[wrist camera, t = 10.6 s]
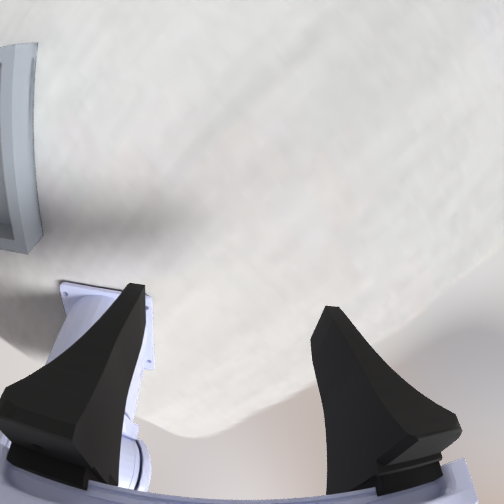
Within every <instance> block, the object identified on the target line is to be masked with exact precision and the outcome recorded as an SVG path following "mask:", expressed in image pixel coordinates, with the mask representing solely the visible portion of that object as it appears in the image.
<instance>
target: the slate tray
mask: <svg viewBox="0 0 504 504" xmlns="http://www.w3.org/2000/svg"><path fill="white" fill-rule="evenodd" d="M37 47H38V43H23V44H13V45H8V46H3V47H0V249H2V250H7V251H13V252H19V253H24V254H28V253H29V252H30V251H31V250H32V248H33V247H34V246H35V245H36V243H37V242H38V241H39V240H40V238H41V237H42V236H43V233H42V226H41V219H40V212H39V204H38V195H37V186H36V174H35V159H34V133H33V106H34V81H35V67H36V56H37Z"/></svg>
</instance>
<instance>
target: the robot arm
mask: <svg viewBox="0 0 504 504" xmlns="http://www.w3.org/2000/svg"><path fill="white" fill-rule="evenodd" d="M60 292H61V296H62V301H63V305H64V309H65V313H66V316H67V317H66V319H65V321H64V323H63V326H62V328H61V330H60V332H59V334H58V336H57V339H56V341H55V343H54V345H53V348H52V350H51V352H50V355H49V357H48V360H47V362H46V364H45V366H43V367H42V368H40V369H39V370H37V371H36V372H34V373H33V374H31V375H29V376H28V377H26V378H24V379H22V380H20V381H18V382H16V383H14V384H12V385H10V386H8V387H6V388H5V390H4V392H3V394H2V395H1V398H0V504H477V503H478V502H479V501H478V498H477V494H476V491H475V488H474V484H473V482H472V478H471V475H470V472H469V469H468V466H467V464H466V461H465V458H461V459H458V460H455V461H452V462H449V463H447V464H444V465H442V466H440V463H439V461H440V460H442V455H441V451H443V450H444V449H445V448H447V447H448V446H449V445H451V444H452V443H453V442H454V441H456V440H457V439H458V438H459V437H460V435H461V433H462V429H461V427H460V424H459V422H458V419H457V417H456V414H454V413H452V412H450V411H449V410H447V409H445V408H443V407H441V406H440V405H438V404H436V403H435V402H433V401H432V400H430V399H428V398H427V397H425V396H424V395H423V394H421V393H420V392H418V391H417V390H416V389H414V388H413V387H412V386H411V385H409V384H408V383H407V382H406V381H405V380H404V379H402V378H401V377H400V376H399V375H398V374H397V373H396V372H395V371H394V370H393V369H391V367H389V366H388V365H387V363H386V362H385V361H383V359H382V358H381V357H380V356H379V355H378V354H377V353H376V352H375V350H374V349H373V348H372V347H371V346H370V345H369V343H368V342H367V341H366V340H365V339H364V337H363V336H362V335H361V334H360V332H359V331H358V330H357V329H356V327H355V326H354V325H353V324H352V322H351V321H350V320H349V319H348V317H347V316H346V315H345V314H344V312H343V311H342V310H341V309H340V308H339V307H333V306H325V308H324V310H323V313H322V315H321V317H320V319H319V321H318V324H317V326H316V328H315V330H314V332H313V335H312V337H311V339H310V340H311V352H312V361H313V366H314V370H315V374H316V379H317V383H318V387H319V392H320V396H321V400H322V405H323V410H324V418H325V427H326V442H327V491H326V495H323V496H315V497H305V498H293V499H274V500H220V499H203V498H190V497H180V496H170V495H164V494H156V493H149V492H147V490H148V488H149V484H150V480H151V472H152V466H151V459H150V455H149V451H148V449H147V446H146V445H145V443H144V442H143V441H142V440H140V439H139V438H137V435H138V429H139V425H137V424H135V423H134V422H133V420H134V417H135V412H136V406H137V401H138V396H139V390H140V385H141V380H142V375H143V370H144V369H146V370H153V369H154V367H155V361H154V339H153V301H152V298H151V297H149V296H147V295H145V285H141V284H134V283H129V284H128V285H127V286H126V287H125V289H124V290H123V291H122V292H121V291H115V290H109V289H103V288H97V287H91V286H85V285H79V284H74V283H68V282H62V283H61V285H60ZM66 292H67V293H66ZM146 306H148V307H146Z"/></svg>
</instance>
